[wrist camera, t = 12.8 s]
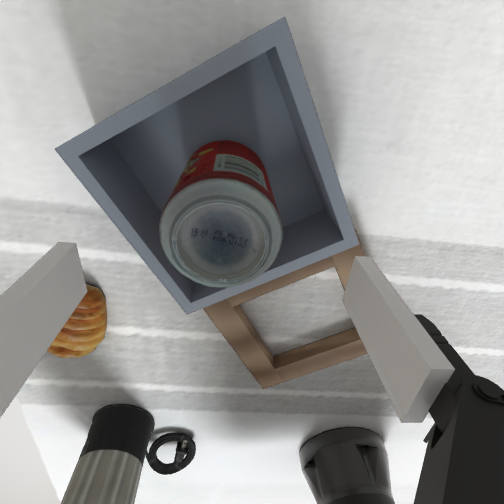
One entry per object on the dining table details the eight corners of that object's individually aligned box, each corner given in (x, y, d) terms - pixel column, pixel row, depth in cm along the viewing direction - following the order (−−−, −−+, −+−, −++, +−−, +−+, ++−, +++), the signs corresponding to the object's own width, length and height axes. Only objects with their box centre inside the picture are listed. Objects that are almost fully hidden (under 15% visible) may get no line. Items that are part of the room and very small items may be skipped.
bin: (334, 209, 30) (359, 244, 24) (195, 270, 33) (186, 314, 27) (271, 30, 22) (285, 16, 16) (96, 130, 25) (54, 149, 19)
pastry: (57, 270, 32) (38, 292, 29) (121, 289, 34) (109, 312, 31) (46, 328, 37) (28, 353, 33) (103, 343, 38) (91, 368, 35)
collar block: (386, 333, 40) (393, 344, 38) (261, 376, 43) (263, 388, 41) (349, 222, 31) (356, 230, 29) (196, 286, 34) (195, 298, 32)
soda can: (188, 128, 25) (155, 172, 14) (273, 143, 26) (300, 194, 15) (183, 207, 28) (153, 289, 18) (257, 218, 29) (271, 302, 19)
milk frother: (89, 401, 44) (30, 535, 31) (198, 403, 46) (184, 532, 33) (102, 451, 51) (59, 577, 39) (196, 452, 53) (184, 573, 40)
